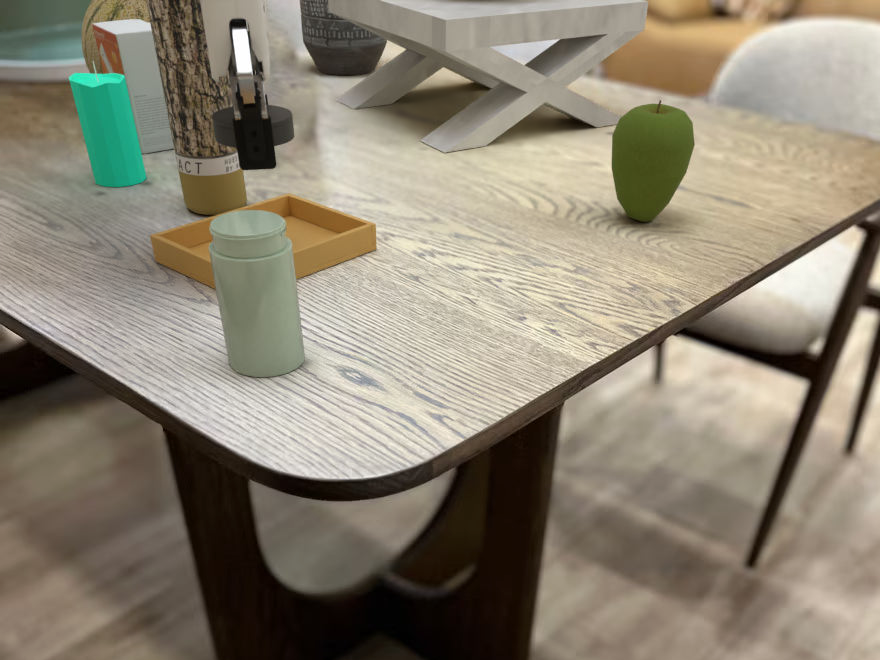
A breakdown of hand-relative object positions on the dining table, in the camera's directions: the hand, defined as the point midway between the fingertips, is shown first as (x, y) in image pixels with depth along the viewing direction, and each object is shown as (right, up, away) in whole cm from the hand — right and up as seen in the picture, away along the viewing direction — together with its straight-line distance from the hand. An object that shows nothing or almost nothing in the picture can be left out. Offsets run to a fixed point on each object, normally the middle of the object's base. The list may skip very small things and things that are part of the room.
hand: (256, 154), depth 77 cm
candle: (-21, +9, +23) cm, 33 cm away
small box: (-22, +19, +34) cm, 44 cm away
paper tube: (-8, +3, +16) cm, 18 cm away
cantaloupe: (-27, +32, +47) cm, 63 cm away
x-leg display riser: (+22, +32, +49) cm, 63 cm away
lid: (0, +2, -2) cm, 3 cm away
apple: (+39, +1, +16) cm, 42 cm away
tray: (0, -7, +6) cm, 9 cm away
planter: (0, +51, +68) cm, 85 cm away
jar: (+3, -22, -10) cm, 24 cm away
